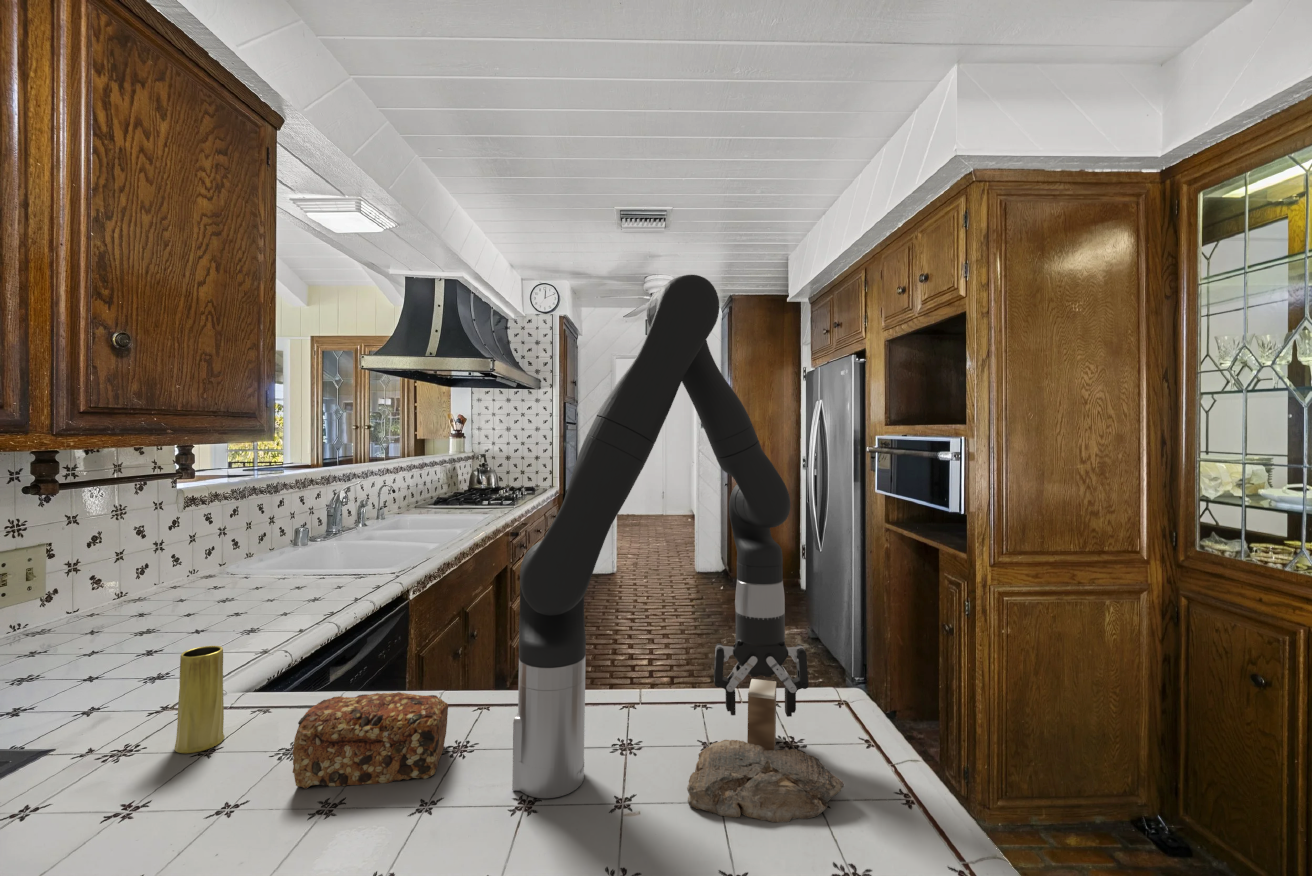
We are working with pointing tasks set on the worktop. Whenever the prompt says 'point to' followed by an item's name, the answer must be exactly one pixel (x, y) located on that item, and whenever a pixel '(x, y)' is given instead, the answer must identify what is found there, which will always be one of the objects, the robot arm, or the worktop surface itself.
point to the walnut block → (762, 713)
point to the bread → (369, 739)
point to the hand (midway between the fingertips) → (760, 713)
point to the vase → (200, 700)
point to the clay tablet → (760, 782)
